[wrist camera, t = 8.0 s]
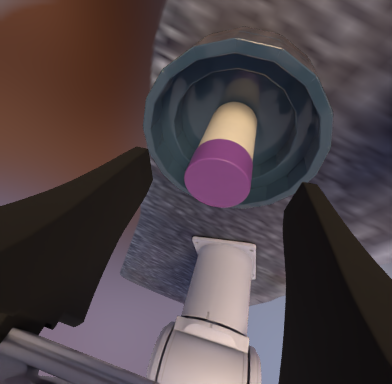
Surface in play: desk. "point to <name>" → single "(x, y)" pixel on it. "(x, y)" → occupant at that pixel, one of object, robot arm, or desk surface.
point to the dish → (249, 95)
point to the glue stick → (224, 157)
